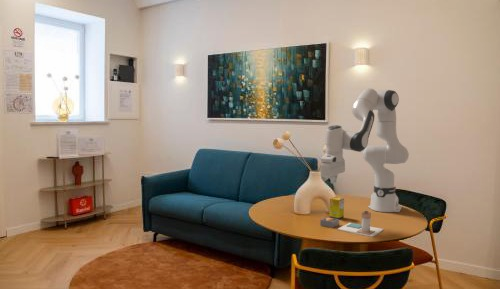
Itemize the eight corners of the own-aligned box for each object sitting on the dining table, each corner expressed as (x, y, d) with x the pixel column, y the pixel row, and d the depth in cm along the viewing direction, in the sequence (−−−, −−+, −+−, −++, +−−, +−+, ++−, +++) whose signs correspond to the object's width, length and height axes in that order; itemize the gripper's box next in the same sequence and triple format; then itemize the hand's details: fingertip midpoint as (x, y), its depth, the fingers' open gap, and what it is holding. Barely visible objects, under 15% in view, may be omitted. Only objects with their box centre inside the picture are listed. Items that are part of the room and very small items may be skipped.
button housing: (326, 222, 212) (326, 216, 212) (338, 224, 208) (338, 219, 207) (320, 225, 207) (320, 219, 206) (332, 227, 202) (332, 222, 202)
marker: (363, 229, 197) (364, 209, 196) (371, 231, 194) (372, 211, 193) (359, 231, 194) (360, 211, 193) (367, 233, 191) (368, 213, 190)
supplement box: (334, 215, 226) (334, 196, 225) (343, 217, 222) (344, 198, 222) (329, 217, 222) (329, 198, 221) (338, 219, 218) (339, 199, 217)
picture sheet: (349, 223, 210) (349, 222, 210) (383, 230, 199) (383, 228, 199) (337, 229, 199) (337, 228, 199) (372, 237, 188) (372, 235, 188)
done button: (327, 222, 210) (328, 217, 210) (334, 224, 207) (334, 218, 207) (324, 224, 207) (324, 219, 207) (331, 226, 204) (331, 220, 204)
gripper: (337, 154, 217) (337, 179, 218) (318, 158, 201) (318, 185, 202) (348, 155, 213) (347, 180, 214) (330, 160, 197) (329, 187, 198)
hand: (333, 183), depth 208 cm, fingers closed
